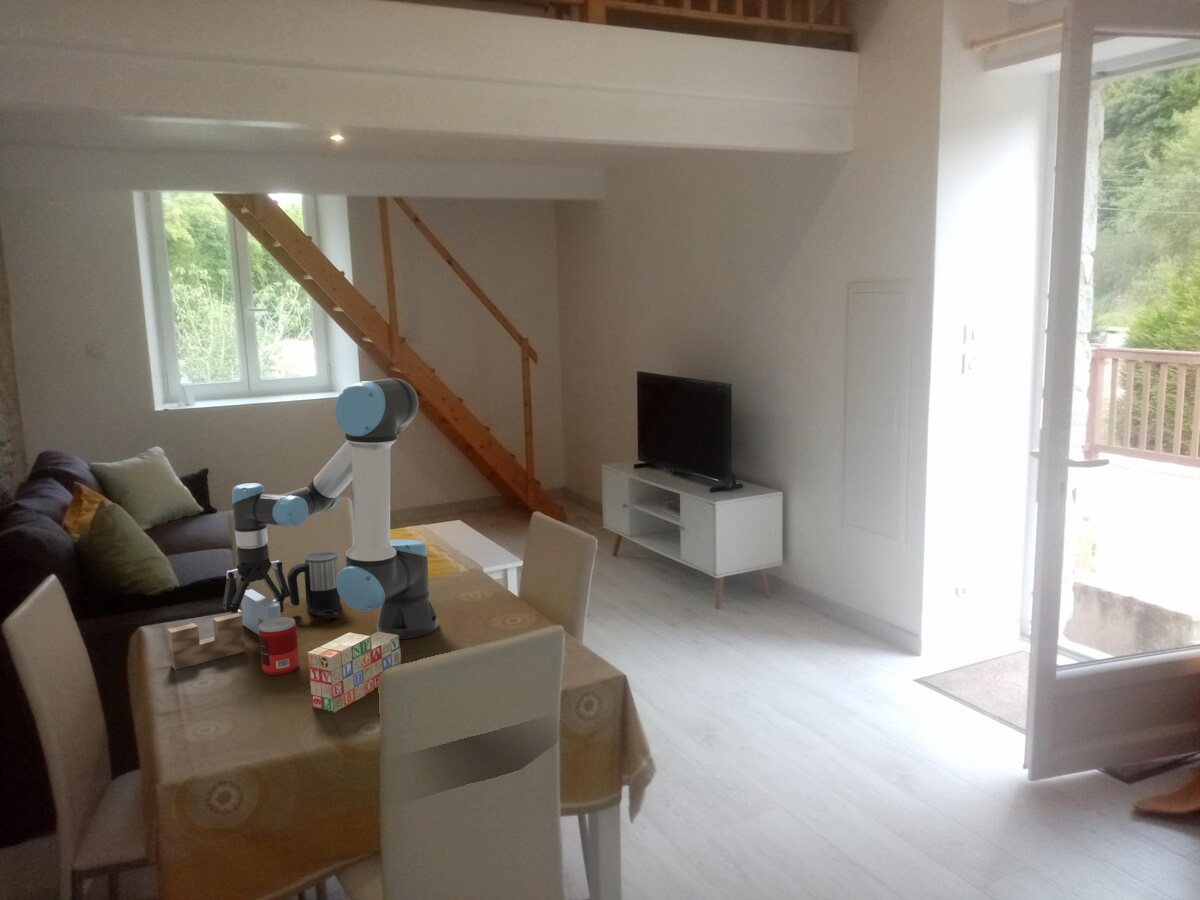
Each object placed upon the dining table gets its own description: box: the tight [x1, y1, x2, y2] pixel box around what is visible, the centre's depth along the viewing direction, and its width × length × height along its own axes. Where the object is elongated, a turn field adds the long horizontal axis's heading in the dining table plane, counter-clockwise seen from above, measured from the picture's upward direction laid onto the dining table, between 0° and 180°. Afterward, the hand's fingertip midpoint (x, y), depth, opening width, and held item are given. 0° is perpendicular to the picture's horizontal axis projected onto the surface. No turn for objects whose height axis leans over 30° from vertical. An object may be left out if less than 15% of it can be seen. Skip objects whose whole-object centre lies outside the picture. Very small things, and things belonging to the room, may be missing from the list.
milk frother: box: [286, 551, 343, 621], centre depth 242 cm, size 14×16×15 cm
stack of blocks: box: [307, 631, 402, 713], centre depth 193 cm, size 21×6×12 cm, turn 153°
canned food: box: [258, 616, 299, 676], centre depth 206 cm, size 8×8×11 cm
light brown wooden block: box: [167, 613, 246, 671], centre depth 213 cm, size 16×3×9 cm, turn 132°
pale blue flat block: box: [240, 588, 281, 636], centre depth 229 cm, size 18×3×9 cm, turn 42°
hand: (259, 629), depth 231 cm, fingers open, 9 cm apart
